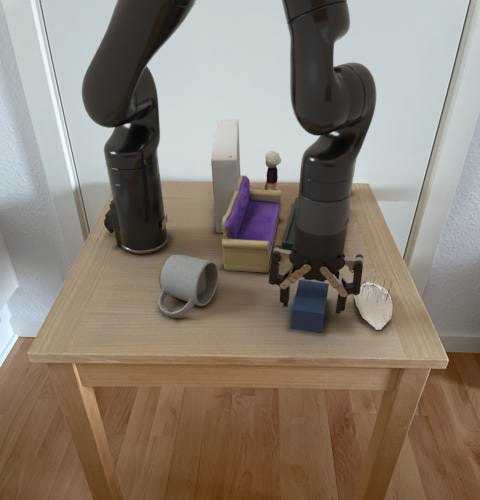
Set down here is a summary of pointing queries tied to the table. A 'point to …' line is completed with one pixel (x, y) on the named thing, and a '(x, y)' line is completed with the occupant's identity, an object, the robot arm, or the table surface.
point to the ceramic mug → (187, 282)
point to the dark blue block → (309, 306)
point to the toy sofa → (250, 228)
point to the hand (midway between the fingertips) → (311, 307)
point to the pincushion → (374, 304)
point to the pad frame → (290, 230)
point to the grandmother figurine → (272, 170)
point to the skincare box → (225, 167)
